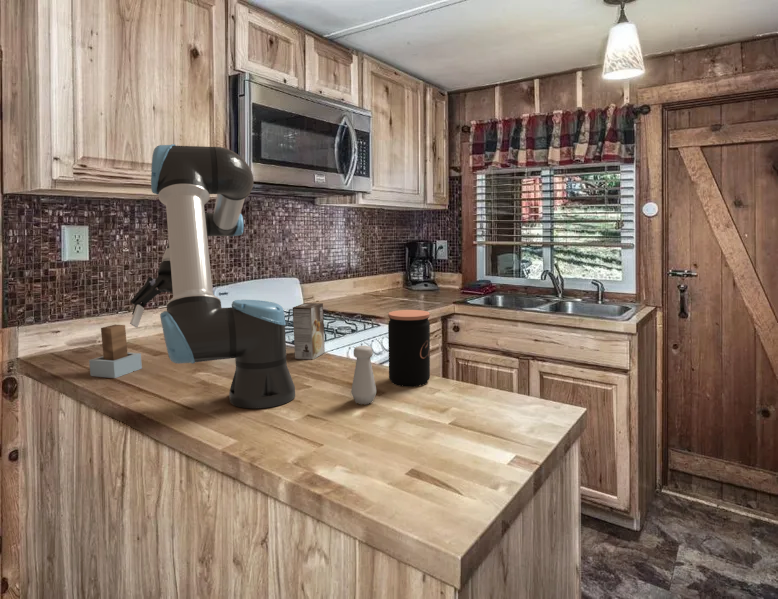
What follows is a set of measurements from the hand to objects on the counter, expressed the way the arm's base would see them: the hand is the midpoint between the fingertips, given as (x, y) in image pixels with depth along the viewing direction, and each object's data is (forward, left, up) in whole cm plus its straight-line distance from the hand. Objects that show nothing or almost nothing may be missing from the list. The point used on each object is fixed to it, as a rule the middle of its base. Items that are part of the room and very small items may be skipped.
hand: (152, 325), depth 160 cm
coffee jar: (-81, +1, -11) cm, 82 cm away
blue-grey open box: (+1, +14, -11) cm, 17 cm away
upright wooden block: (+1, +14, -10) cm, 17 cm away
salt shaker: (-75, +19, -11) cm, 78 cm away
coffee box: (-44, -17, -11) cm, 48 cm away
